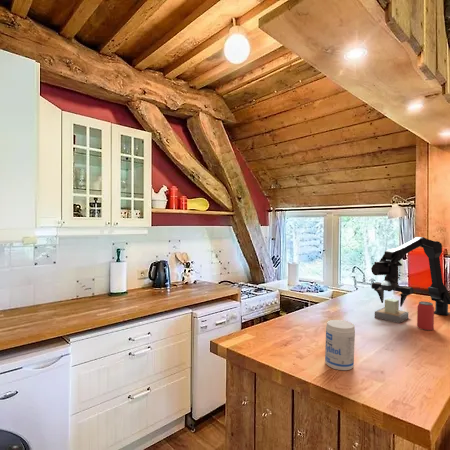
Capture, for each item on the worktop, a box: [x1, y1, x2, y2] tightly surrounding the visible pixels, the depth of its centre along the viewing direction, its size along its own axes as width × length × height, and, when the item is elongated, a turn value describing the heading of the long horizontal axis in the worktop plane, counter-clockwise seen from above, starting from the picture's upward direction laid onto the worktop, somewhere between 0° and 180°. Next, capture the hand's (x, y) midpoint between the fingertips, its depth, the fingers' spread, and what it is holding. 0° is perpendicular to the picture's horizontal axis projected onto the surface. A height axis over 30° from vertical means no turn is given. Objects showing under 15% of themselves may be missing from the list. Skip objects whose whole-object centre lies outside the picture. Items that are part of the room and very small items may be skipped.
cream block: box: [384, 297, 400, 314], centre depth 168 cm, size 5×5×6 cm
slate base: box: [374, 306, 409, 324], centre depth 168 cm, size 12×12×3 cm
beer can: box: [416, 301, 435, 331], centre depth 152 cm, size 7×7×12 cm
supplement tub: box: [324, 319, 356, 371], centre depth 114 cm, size 10×10×15 cm
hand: (391, 304), depth 168 cm, fingers open, 9 cm apart
